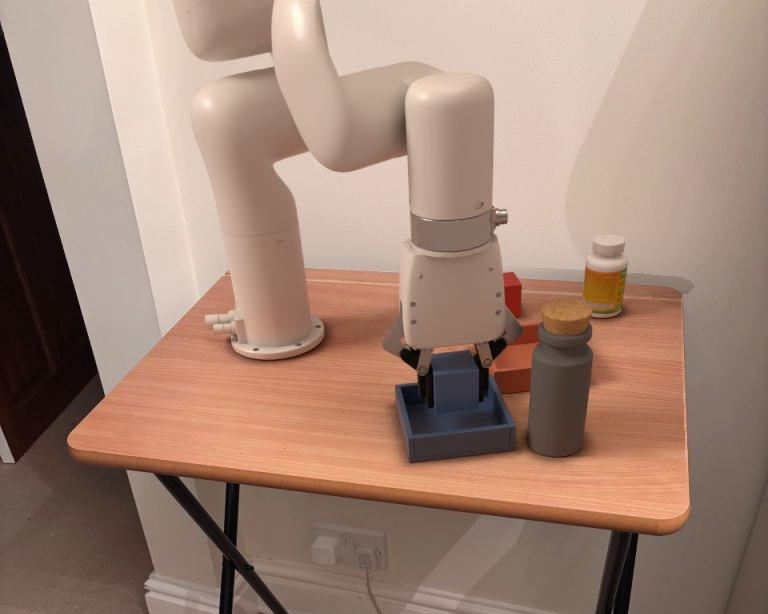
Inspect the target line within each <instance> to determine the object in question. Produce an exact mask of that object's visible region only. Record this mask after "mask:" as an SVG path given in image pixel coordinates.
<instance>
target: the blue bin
mask: <svg viewBox="0 0 768 614" xmlns="http://www.w3.org/2000/svg"><path fill="white" fill-rule="evenodd" d="M394 397H395V398H394V399H395V409H396V413H397V418H398V421H399V426H400V429H401V434H402V438H403V443H404V446H405V450H406V455H407V458H408V462H409V463H417V462H426V461H435V460H442V459H449V458H451V459H452V458H460V457H467V456H479V455H485V454H494V453H502V452H510V451H515V450H516V436H517V435H516V434H517V425H516V423H515V421H514V418H513V416H512V414H511V412H510V410H509V408H508V406H507V404H506V401H505V399H504V397H503V395H502V394H501V393H500V390H499V388H498V386H497V384H496V382H495V380H494V377H493V375H492V374H489V389H488V390H486V391H484V402H480V403H479V408H478V409H471V410H463V411H454V412H446V413H437V414H436V413H435V410H434V407H433V408H429V409H428V408H427V405H426V401H425V398H419V394H418V383H417V382H416V381H415V382H407V383H398V384H394Z"/></svg>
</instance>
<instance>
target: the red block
mask: <svg viewBox="0 0 768 614" xmlns="http://www.w3.org/2000/svg"><path fill="white" fill-rule="evenodd" d="M503 280H504V295H505V306H506V307H507V308H508V309H509V310H510V312H511V313H512V314H513V315H514V317H515V318H520V317H521V311H522V293H523V292H522V291H523V284H522V282H521V281H520V280H519V277H518V276H517V275H516V273H515V272H514V271H507V272H503Z"/></svg>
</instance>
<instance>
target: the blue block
mask: <svg viewBox="0 0 768 614" xmlns="http://www.w3.org/2000/svg"><path fill="white" fill-rule="evenodd" d="M473 356H474V355H473V353H472V351H471V349H462V350H454V351H453V350H452V351H445V352H436V353H432V357H431V362H430V368H431V371H432V374H433V385H434V410H435V413H436V414H437V413H446V412H454V411H463V410H471V409H478V408H479V369H478V367H477V364H476V362H475V360H474V357H473Z"/></svg>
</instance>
